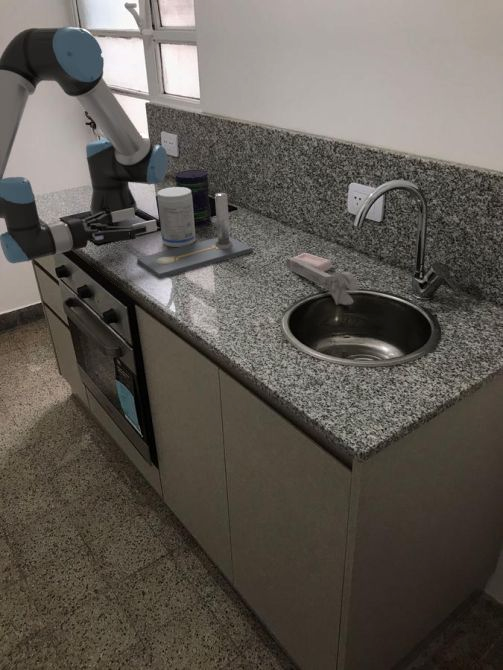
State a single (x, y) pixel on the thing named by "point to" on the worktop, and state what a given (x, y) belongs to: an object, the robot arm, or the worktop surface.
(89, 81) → the robot arm
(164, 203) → the supplement tub
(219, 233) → the steel pin
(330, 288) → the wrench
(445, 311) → the worktop surface
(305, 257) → the soap bar
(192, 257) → the board
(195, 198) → the storage jar
